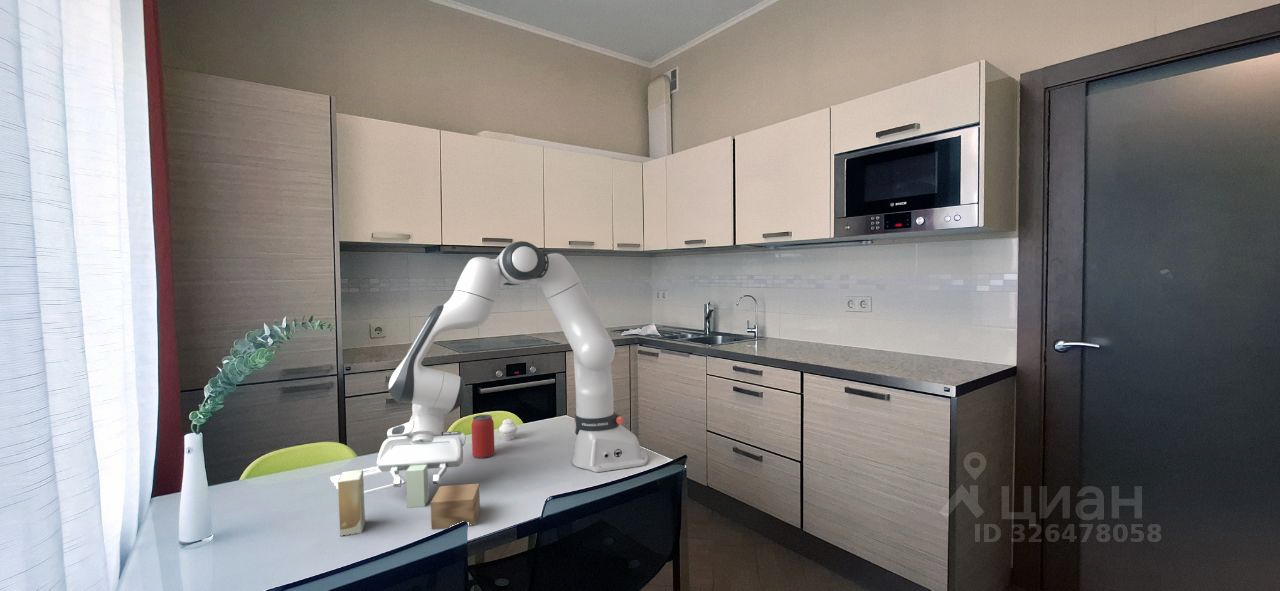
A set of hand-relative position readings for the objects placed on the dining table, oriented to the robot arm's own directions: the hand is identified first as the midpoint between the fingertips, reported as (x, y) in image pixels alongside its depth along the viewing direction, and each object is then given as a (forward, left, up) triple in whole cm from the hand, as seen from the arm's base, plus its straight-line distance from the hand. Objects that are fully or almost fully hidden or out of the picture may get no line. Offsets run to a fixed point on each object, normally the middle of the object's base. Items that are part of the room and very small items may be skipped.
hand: (416, 484), depth 130 cm
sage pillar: (0, -1, -5) cm, 5 cm away
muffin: (-17, -49, -5) cm, 52 cm away
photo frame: (+18, -19, -6) cm, 26 cm away
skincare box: (+11, +10, -5) cm, 16 cm away
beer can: (-11, -34, -5) cm, 36 cm away
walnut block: (-11, +9, -5) cm, 15 cm away
